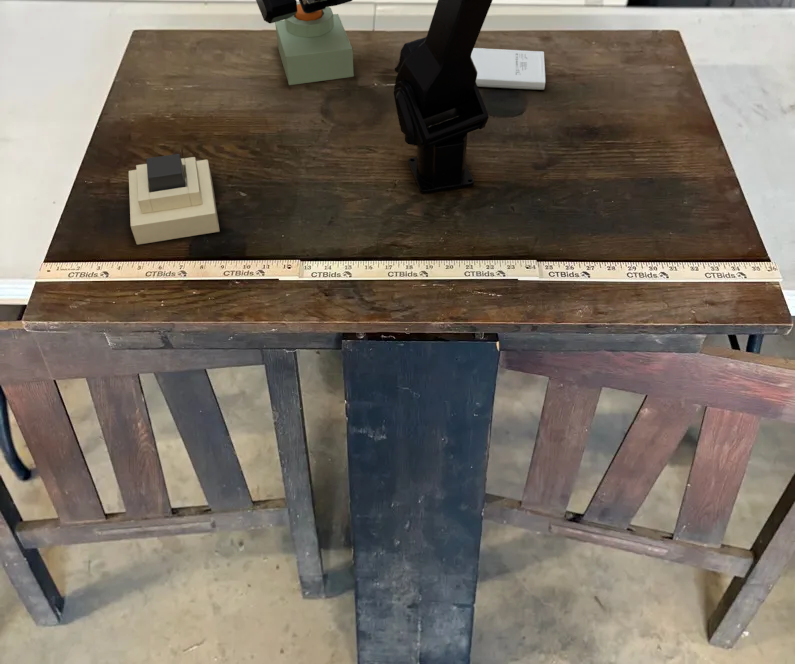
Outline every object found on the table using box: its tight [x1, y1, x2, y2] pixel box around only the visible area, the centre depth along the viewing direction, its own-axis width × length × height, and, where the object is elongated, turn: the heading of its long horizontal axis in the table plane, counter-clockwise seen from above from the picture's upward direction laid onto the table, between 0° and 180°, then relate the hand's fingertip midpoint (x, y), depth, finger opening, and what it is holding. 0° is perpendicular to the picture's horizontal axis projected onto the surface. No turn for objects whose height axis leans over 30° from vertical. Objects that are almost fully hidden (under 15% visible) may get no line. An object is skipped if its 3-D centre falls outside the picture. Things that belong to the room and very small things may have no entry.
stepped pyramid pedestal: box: [128, 156, 221, 246], centre depth 89 cm, size 10×9×4 cm
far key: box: [295, 3, 322, 21], centre depth 110 cm, size 4×4×2 cm
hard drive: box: [471, 47, 546, 91], centre depth 110 cm, size 2×8×12 cm
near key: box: [146, 153, 185, 192], centre depth 87 cm, size 4×4×2 cm
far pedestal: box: [274, 2, 355, 86], centre depth 110 cm, size 11×9×6 cm
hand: (307, 5), depth 109 cm, fingers closed, pressing on far key
